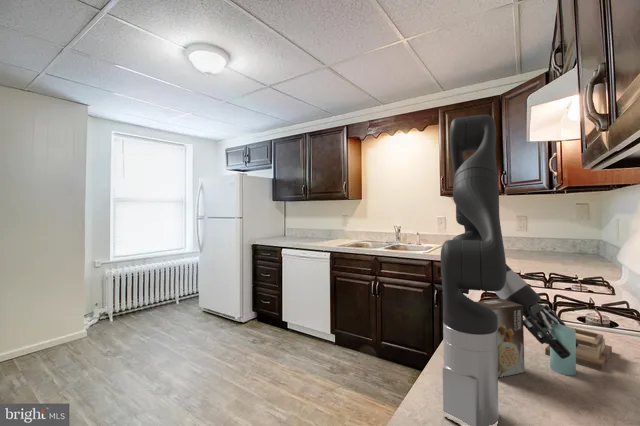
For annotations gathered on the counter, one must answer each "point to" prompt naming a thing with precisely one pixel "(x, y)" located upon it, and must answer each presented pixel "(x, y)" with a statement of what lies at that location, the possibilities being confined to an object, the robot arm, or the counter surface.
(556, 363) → the teal post
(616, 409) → the counter surface
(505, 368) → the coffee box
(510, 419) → the counter surface
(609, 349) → the base slab
